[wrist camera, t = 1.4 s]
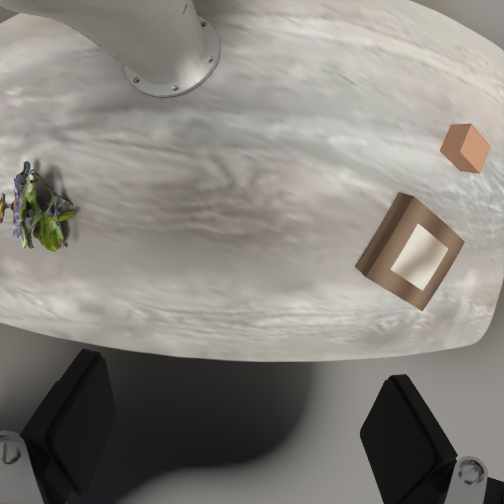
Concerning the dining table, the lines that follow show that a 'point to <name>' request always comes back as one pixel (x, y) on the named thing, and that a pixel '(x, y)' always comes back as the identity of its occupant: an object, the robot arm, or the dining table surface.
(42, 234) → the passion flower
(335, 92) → the dining table surface
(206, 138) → the dining table surface
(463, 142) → the terracotta cube
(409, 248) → the walnut frame
